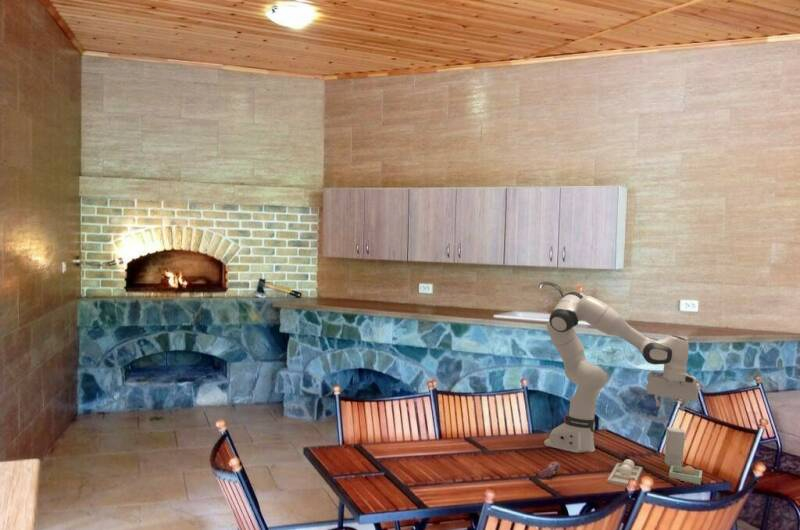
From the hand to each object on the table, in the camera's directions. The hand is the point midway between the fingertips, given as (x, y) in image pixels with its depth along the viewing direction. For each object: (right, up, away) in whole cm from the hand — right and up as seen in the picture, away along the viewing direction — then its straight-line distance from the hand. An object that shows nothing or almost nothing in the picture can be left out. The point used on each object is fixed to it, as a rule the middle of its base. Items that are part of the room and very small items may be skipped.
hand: (669, 408), depth 312 cm
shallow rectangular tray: (-23, -25, -14) cm, 37 cm away
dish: (+4, -27, -7) cm, 28 cm away
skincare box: (+5, -27, +12) cm, 30 cm away
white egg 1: (-19, -24, -6) cm, 31 cm away
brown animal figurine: (-54, -23, -19) cm, 61 cm away
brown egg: (+4, -26, -7) cm, 27 cm away
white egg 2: (-23, -24, -14) cm, 36 cm away
